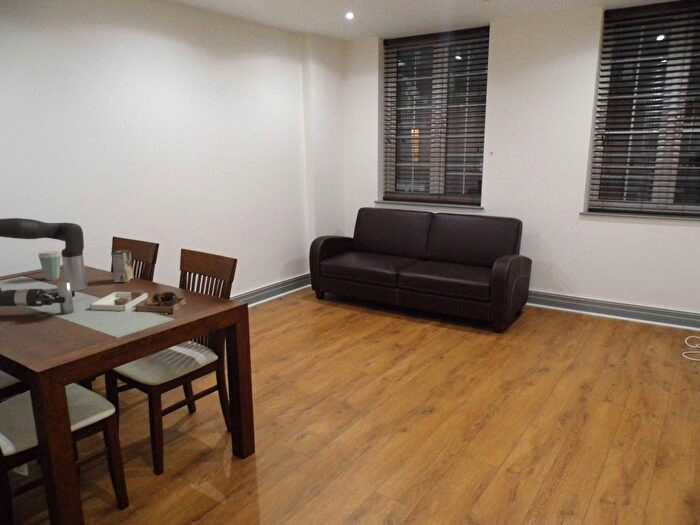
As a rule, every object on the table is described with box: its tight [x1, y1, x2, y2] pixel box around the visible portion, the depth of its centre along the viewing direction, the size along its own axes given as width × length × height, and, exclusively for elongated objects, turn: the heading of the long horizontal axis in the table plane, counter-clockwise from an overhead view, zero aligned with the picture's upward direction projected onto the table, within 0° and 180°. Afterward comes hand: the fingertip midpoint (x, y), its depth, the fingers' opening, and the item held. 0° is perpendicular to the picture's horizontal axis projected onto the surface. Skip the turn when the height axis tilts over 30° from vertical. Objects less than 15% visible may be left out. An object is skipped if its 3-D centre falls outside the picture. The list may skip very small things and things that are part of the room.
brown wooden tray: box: [135, 296, 188, 314], centre depth 224 cm, size 15×17×3 cm
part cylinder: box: [56, 280, 75, 315], centre depth 214 cm, size 5×5×14 cm
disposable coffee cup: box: [38, 250, 62, 281], centre depth 271 cm, size 11×11×15 cm
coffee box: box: [111, 249, 135, 283], centre depth 268 cm, size 9×6×16 cm
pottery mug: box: [153, 290, 179, 307], centre depth 225 cm, size 12×10×8 cm
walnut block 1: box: [114, 298, 129, 305], centre depth 221 cm, size 4×4×4 cm
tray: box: [89, 291, 149, 312], centre depth 228 cm, size 20×16×3 cm
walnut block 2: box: [130, 289, 144, 300], centre depth 234 cm, size 4×4×4 cm
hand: (69, 297), depth 214 cm, fingers open, 8 cm apart
